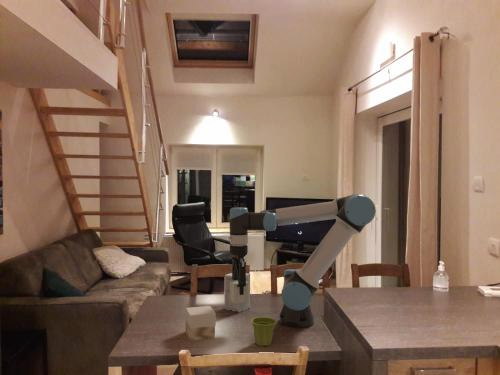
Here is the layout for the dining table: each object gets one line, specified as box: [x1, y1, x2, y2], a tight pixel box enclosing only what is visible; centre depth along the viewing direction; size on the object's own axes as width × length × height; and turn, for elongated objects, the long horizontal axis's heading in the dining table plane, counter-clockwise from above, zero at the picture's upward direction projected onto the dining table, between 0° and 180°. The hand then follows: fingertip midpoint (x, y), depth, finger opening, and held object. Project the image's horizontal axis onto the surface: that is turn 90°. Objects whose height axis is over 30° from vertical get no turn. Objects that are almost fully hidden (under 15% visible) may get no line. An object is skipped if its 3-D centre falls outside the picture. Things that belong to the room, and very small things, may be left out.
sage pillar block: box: [230, 280, 248, 303], centre depth 168 cm, size 6×6×8 cm
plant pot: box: [251, 316, 277, 347], centre depth 154 cm, size 9×9×9 cm
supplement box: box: [224, 272, 251, 313], centre depth 196 cm, size 10×9×17 cm
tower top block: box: [185, 305, 217, 328], centre depth 162 cm, size 10×10×5 cm
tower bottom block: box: [185, 320, 216, 342], centre depth 162 cm, size 10×10×5 cm
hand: (238, 299), depth 168 cm, fingers closed on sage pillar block, 6 cm apart
